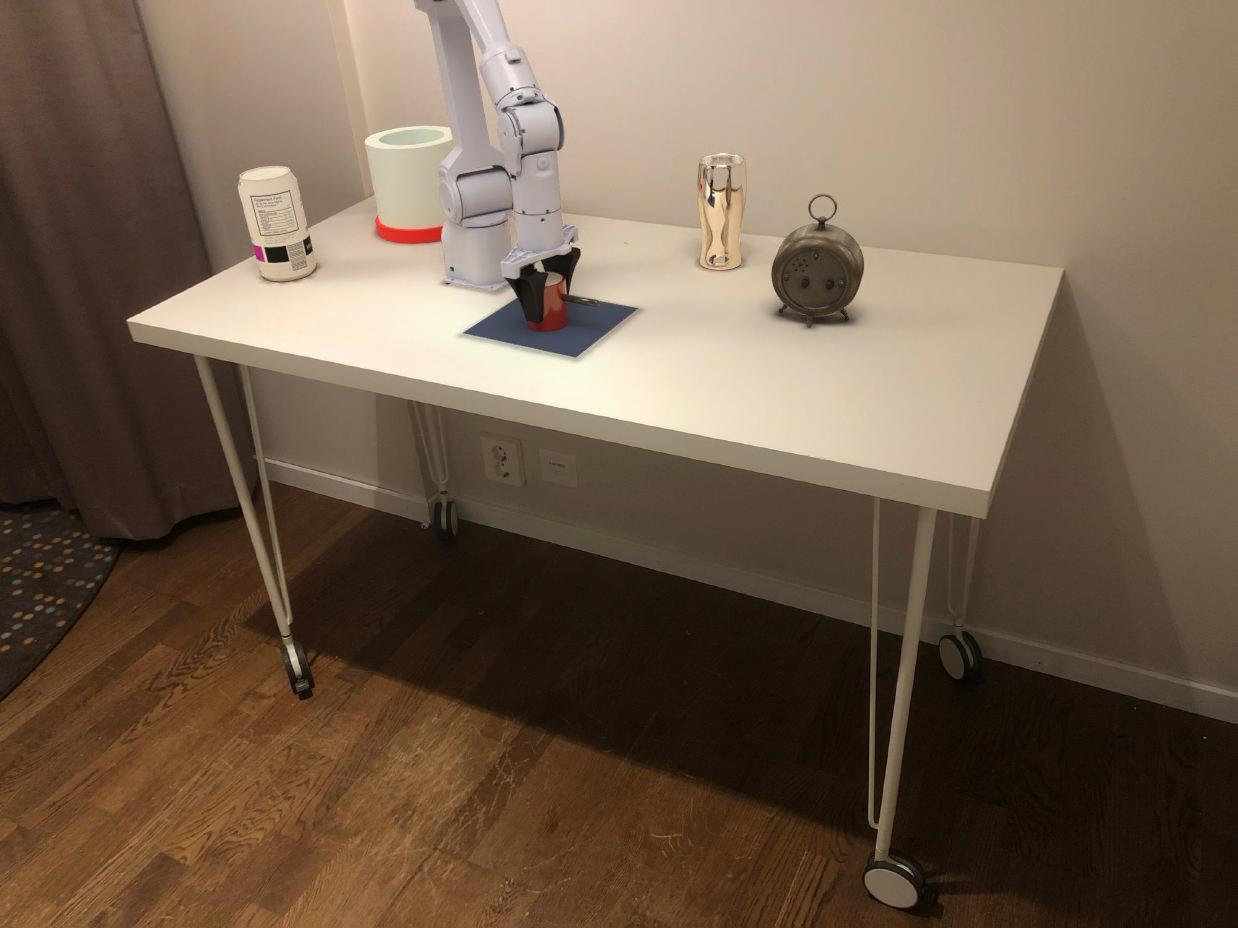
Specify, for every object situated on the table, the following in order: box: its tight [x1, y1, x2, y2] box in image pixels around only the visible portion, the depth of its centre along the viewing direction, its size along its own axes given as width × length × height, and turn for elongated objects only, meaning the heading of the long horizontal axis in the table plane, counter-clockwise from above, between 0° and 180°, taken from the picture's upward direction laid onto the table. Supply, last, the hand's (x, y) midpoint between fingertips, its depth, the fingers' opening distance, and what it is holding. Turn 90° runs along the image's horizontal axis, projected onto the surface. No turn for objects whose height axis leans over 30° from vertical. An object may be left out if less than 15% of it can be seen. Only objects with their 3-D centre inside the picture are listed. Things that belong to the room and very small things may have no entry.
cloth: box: [462, 297, 639, 359], centre depth 122 cm, size 17×16×1 cm
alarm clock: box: [770, 193, 865, 328], centre depth 114 cm, size 11×5×16 cm, turn 71°
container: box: [364, 125, 465, 244], centre depth 152 cm, size 16×16×15 cm
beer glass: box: [696, 152, 748, 271], centre depth 133 cm, size 7×7×15 cm
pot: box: [527, 271, 600, 332], centre depth 118 cm, size 11×5×6 cm, turn 61°
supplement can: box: [237, 165, 317, 282], centre depth 137 cm, size 8×8×15 cm
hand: (546, 312), depth 120 cm, fingers closed on pot, 5 cm apart
